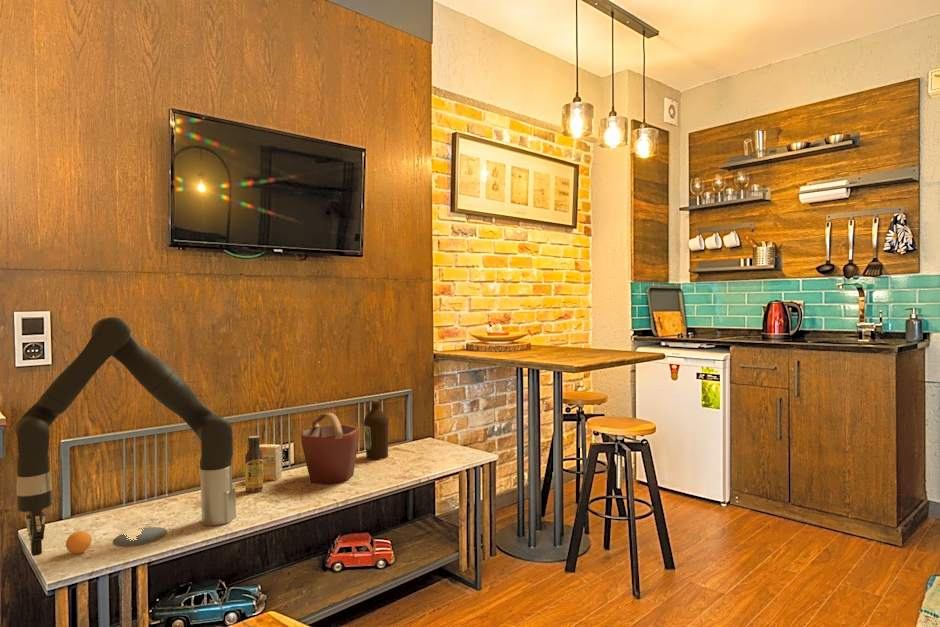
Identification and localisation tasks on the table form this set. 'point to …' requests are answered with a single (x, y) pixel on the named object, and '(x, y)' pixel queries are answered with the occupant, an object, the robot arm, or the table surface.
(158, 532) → the dark grey flat disc
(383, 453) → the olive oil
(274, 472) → the supplement box
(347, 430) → the bucket
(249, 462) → the sauce bottle
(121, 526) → the table surface
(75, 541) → the ball
